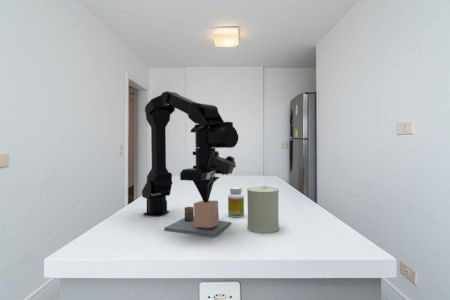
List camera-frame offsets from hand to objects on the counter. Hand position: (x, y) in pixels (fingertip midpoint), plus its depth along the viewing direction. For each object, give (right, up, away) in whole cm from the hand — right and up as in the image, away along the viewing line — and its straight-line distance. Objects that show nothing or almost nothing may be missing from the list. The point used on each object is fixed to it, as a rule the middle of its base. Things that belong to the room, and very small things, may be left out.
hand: (205, 201), depth 76 cm
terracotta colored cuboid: (0, -7, 0) cm, 7 cm away
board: (-2, -8, +2) cm, 9 cm away
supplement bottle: (+9, -8, +15) cm, 19 cm away
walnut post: (-6, -8, +7) cm, 12 cm away
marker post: (0, -8, 0) cm, 8 cm away
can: (+17, -8, +1) cm, 18 cm away
